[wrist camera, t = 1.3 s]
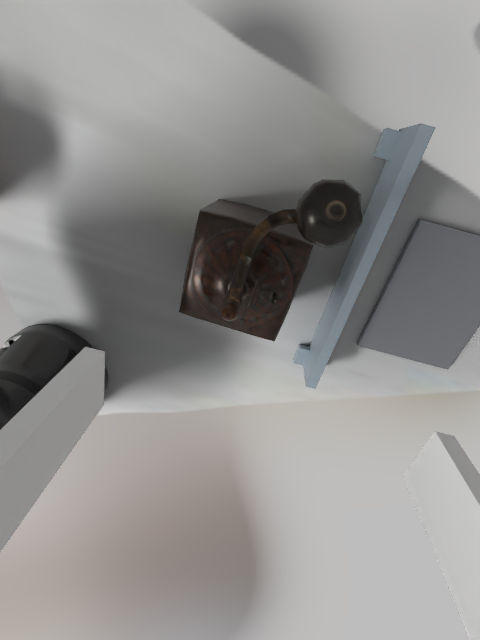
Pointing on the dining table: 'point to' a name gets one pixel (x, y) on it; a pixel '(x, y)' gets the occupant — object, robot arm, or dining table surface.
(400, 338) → the slate mat
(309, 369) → the low wall
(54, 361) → the robot arm
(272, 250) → the coffee grinder
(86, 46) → the dining table surface
